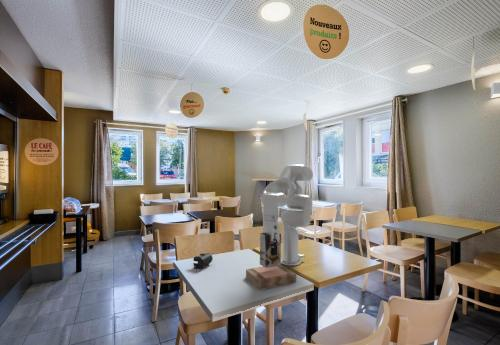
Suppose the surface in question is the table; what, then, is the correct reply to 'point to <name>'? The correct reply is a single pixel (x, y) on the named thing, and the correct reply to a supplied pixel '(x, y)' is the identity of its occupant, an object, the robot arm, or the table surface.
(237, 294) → the table surface
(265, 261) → the coffee box
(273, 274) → the stand
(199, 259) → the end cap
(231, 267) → the table surface
